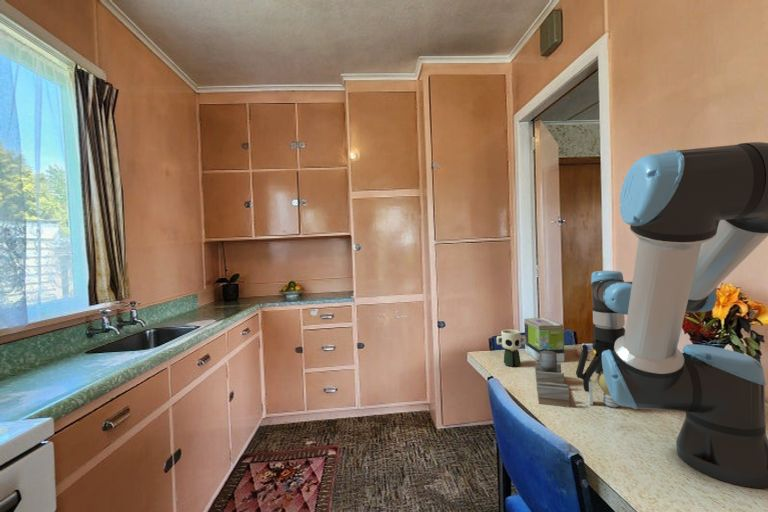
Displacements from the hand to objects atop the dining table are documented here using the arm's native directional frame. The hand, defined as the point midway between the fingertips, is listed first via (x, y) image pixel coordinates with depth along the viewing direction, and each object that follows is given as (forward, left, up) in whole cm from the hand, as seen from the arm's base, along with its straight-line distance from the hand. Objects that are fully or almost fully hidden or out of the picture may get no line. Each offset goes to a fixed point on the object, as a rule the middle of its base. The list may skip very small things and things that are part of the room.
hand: (611, 404), depth 98 cm
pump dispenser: (+18, -4, 0) cm, 18 cm away
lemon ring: (+47, -5, 0) cm, 47 cm away
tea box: (+42, +15, -1) cm, 45 cm away
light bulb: (0, 0, 0) cm, 0 cm away
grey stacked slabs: (+8, +15, 0) cm, 17 cm away
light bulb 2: (+45, -5, -1) cm, 45 cm away
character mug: (+29, +27, 0) cm, 40 cm away
